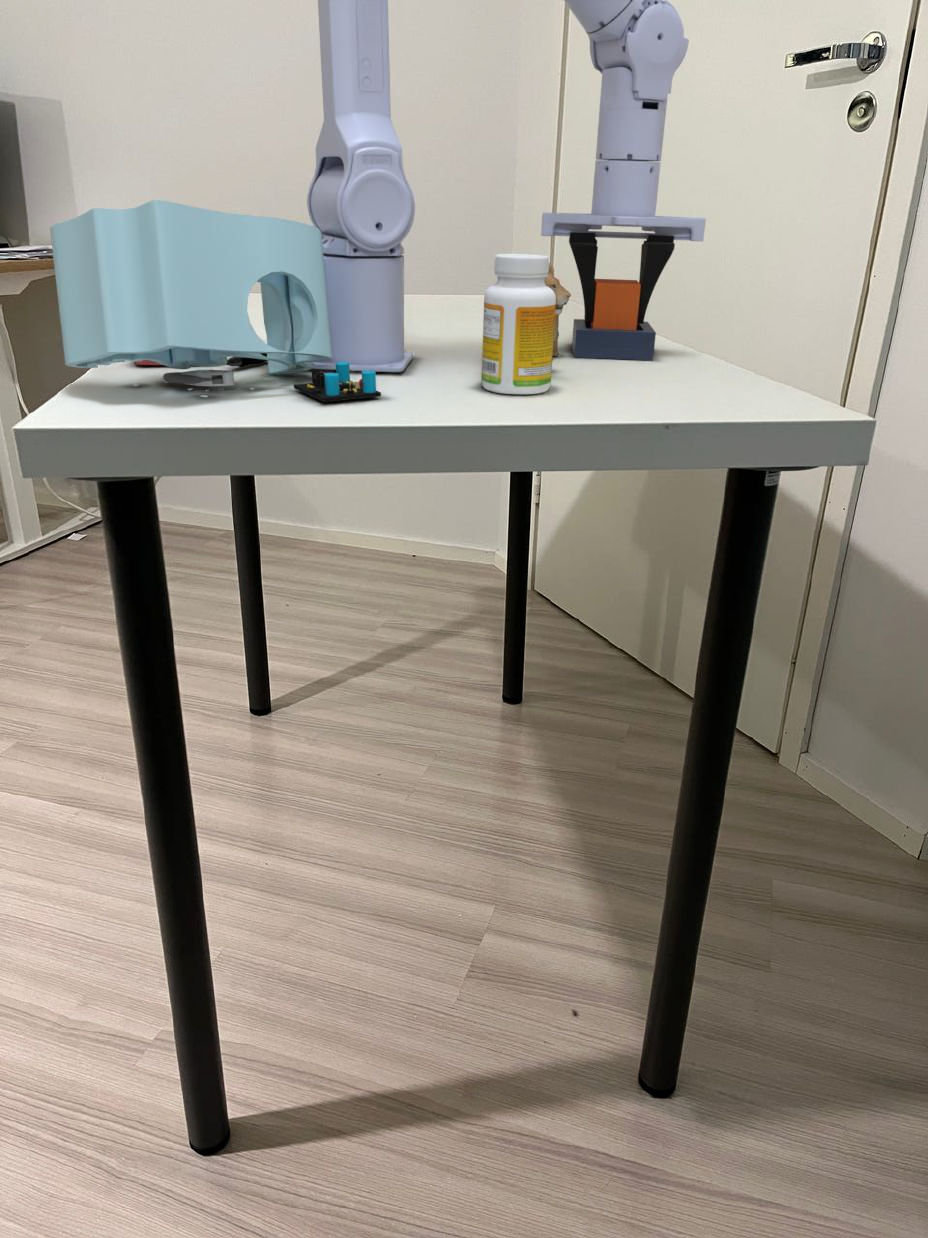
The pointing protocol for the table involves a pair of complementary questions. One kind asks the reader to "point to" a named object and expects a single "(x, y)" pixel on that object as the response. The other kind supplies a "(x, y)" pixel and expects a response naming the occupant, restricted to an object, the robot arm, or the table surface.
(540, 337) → the supplement bottle
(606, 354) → the blue square tray
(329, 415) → the table surface
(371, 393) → the circuit board
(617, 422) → the table surface
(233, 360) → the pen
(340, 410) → the table surface
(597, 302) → the orange rectangular block
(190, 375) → the grey piece
